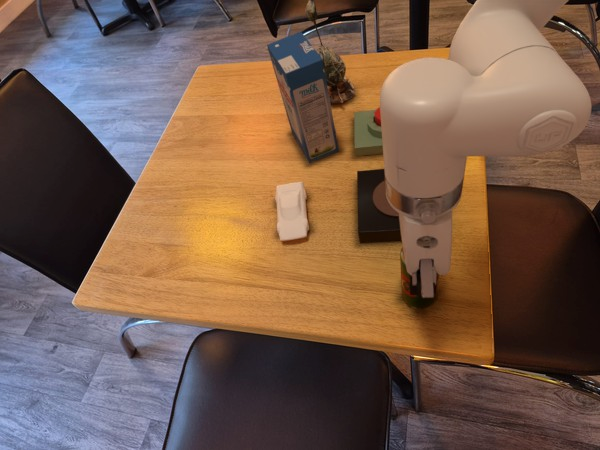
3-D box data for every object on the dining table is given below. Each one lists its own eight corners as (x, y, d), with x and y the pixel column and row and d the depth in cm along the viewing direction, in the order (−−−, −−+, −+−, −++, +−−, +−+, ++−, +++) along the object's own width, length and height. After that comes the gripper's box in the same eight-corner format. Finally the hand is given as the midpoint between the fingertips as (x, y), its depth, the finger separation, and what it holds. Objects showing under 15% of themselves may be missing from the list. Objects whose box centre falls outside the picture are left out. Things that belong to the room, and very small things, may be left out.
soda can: (435, 313, 61) (440, 270, 52) (399, 307, 63) (397, 264, 54) (439, 281, 64) (444, 235, 55) (404, 276, 66) (402, 231, 56)
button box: (416, 113, 86) (417, 97, 82) (421, 150, 80) (422, 133, 77) (355, 120, 88) (353, 104, 85) (355, 156, 82) (353, 140, 79)
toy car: (279, 246, 74) (274, 235, 71) (277, 192, 81) (272, 180, 78) (311, 241, 73) (307, 229, 70) (306, 187, 80) (302, 175, 77)
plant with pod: (317, 114, 91) (297, 24, 76) (318, 80, 98) (300, -9, 82) (356, 109, 90) (344, 16, 74) (354, 75, 97) (343, -17, 81)
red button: (396, 111, 82) (396, 104, 80) (397, 126, 79) (397, 118, 78) (374, 114, 83) (374, 106, 81) (375, 128, 80) (374, 121, 79)
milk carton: (339, 151, 84) (322, 59, 68) (309, 163, 83) (285, 74, 68) (319, 121, 90) (300, 30, 74) (292, 133, 90) (266, 44, 74)
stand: (434, 176, 76) (435, 162, 73) (443, 238, 68) (445, 226, 66) (358, 182, 78) (356, 169, 76) (359, 243, 71) (357, 231, 68)
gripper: (477, 252, 38) (459, 332, 52) (451, 119, 48) (441, 217, 62) (389, 256, 40) (395, 333, 54) (381, 127, 50) (388, 221, 64)
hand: (420, 270), depth 58 cm, fingers open, 5 cm apart
